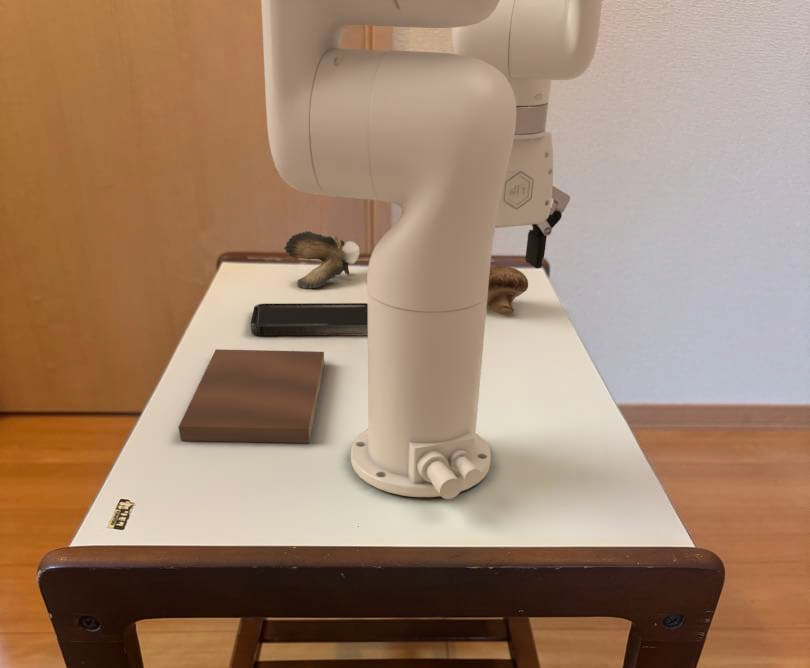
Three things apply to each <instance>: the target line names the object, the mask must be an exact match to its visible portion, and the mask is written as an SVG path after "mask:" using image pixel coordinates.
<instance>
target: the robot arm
mask: <svg viewBox="0 0 810 668" xmlns="http://www.w3.org/2000/svg"><path fill="white" fill-rule="evenodd" d="M260 3H261V21H262V22H261V24H262V25H261V26H262V45H263V47H262V48H263V69H264V91H265V92H264V96H265V111H266V113H265V114H266V126H267V137H268V138H267V139H268V143H269V149H270V154H271V157H272V161H273V164H274V167H275V169H276V171H277V173H278V175H279V176H280V177H281V179H282V180H283V181H284V183H286V184H287V185H288V186H289V187H291V188H292V189H294V190H296V191H298V192H301V193H305V194H310V195H317V196H323V197H324V196H326V197H333V198H334V197H336V198H345V199H356V200H357V199H358V200H367V201H379V202H382V203H388V204H393V205H397V206H398V207H400V208H401V214H400V215H399V217H398V218H397V220H396V221H395V222H394V224H393V225H392V226H391V227H390V228H389V229H388V230H387V231H386V232H385V233H384V234H383V235H382V237H380V239H379V241H378V242H377V243H376V245H375V247H374V249H373V250H372V252H371V255H370V258H369V261H368V266H367V273H366V275H367V276H366V277H367V278H366V282H367V283H366V288H367V289H366V290H367V303H368V335H367V429H366V430H364V431H362V432H361V433H360V434H359V435H358V436H357V437H356V438H355V439H354V441H353V443H352V444H351V449H350V463H351V465H352V467H353V468H352V469H353V471H354V472H355V474H356V475H357V476H358V477H359V478H360V479H362V480H363V481H364V482H365V483H367V484H368V485H370V486H372V487H374V488H376V489H378V490H380V491H384V492H387V493H388V494H394V495H399V496H402V497H413V498H436V497H437V498H438V497H441V498H442V499H445V500H453V499H454V498H456V497H458V495H459V494H460V493H461V492H463V491H467V490H469V489H471V488H472V487H475V486H476V485H477V484H479V483H480V482H481V481H482V480H483V479H485V478H486V476H487V474H488V473H489V472H490V466H491V458H492V452H491V449H490V446H489V445H488V443H487V442H486V441H485V440H484V438H482V437H481V436H480V435H479V434H478V433H477V421H478V409H479V398H480V388H481V387H480V386H481V378H482V377H481V375H482V363H483V353H484V341H485V331H486V330H485V329H486V317H487V308H488V307H487V306H488V305H487V297H488V284H489V273H490V266H491V263H492V254H493V245H494V237H495V230H496V229H503V228H513V227H514V228H515V227H523V226H531V227H532V229H529V230H528V233H527V241H526V250H525V259H524V260H525V262H526V263H527V264H529V265H530V266H532V267H533V268H535V269H541V268H542V266H543V259H544V258H545V253H546V246H547V237H548V236H550V235H551V234H552V231H553V228H554V227H555V226H556V225H557V224H558V223H559V221H561V219H562V216H563V213H564V212H565V210H566V208H567V206H568V204H569V203H570V201H571V195H569V194H567V193H566V192H564V191H562V190H561V189H559V188H558V187H556V186H554V185H553V184H554V181H553V180H554V149H553V137H552V133H551V132H549V131H546V127H547V118H548V109H549V101H550V92H551V86H552V85H551V84H552V81H570V80H574V79H577V78H578V77H581V76H582V75H583V74H584V73H585V72H586V71H587V70H588V68H589V67H590V65H591V63H592V61H593V59H594V56H595V53H596V49H597V45H598V40H599V34H600V33H599V32H600V24H601V16H602V5H603V0H261V2H260ZM348 26H349V27H350V26H372V27H373V26H374V27H394V28H395V27H397V28H419V29H451V46H452V47H451V48H452V51H453V53H450V52H432V51H416V50H415V51H411V50H392V49H388V50H378V49H377V50H376V49H361V48H360V49H357V48H356V49H355V48H341V45H342V38H343V34H344V33H345V30H346V28H347V27H348Z"/></svg>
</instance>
